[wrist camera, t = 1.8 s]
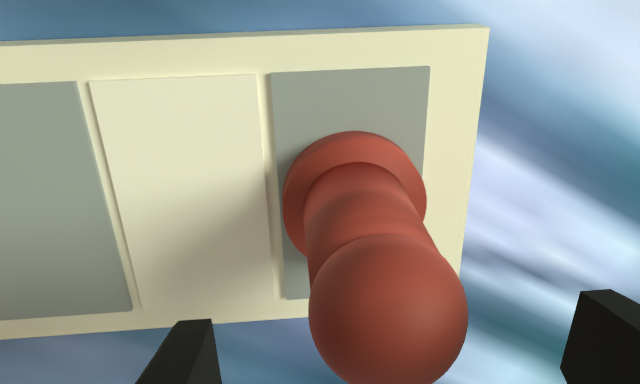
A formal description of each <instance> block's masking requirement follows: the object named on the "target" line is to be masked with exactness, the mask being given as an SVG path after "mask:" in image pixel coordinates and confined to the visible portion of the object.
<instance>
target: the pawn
mask: <svg viewBox="0 0 640 384" xmlns="http://www.w3.org/2000/svg"><path fill="white" fill-rule="evenodd" d="M282 204H283V220H284V225H285V228H286V232H287V234H288V236H289V238H290V240H291V241H292V243H293V244H294V246H295V247H296V248H297V249H298V250H299V251H300V252H301V253H302V254H303V255H304V256H306V257H307V262H308V272H309V282H310V297H309V304H308V318H309V326H310V331H311V334H312V338H313V340H314V343H315V346H316V348H317V349H318V351H319V353H320V355H321V356H322V358H323V360H324V361H325V362H326V364H327V365H328V366H329V367H330V368H331V369H332V370H333V371H334V372H335V373H336V374H337V375H338V376H339V377H340V378H342V379H343V380H344V381H346V382H347V383H349V384H432V383H433V382H435V381H436V380H438V379H439V378H440V377H441V376H443V375H444V374H445V373H446V372H447V371H448V369H449V368H450V367H451V365H452V364H453V363H454V361H455V360H456V359H457V357H458V355H459V353H460V351H461V348H462V346H463V343H464V341H465V337H466V332H467V327H468V307H467V300H466V296H465V292H464V289H463V286H462V284H461V282H460V280H459V278H458V275H457V274H456V272H455V271H454V269H453V268H452V266H451V265H450V264H449V262H448V261H447V260H446V259H445V258H444V257H443V256H442V255H441V254H440V253H439V251H438V249H437V247H436V245H435V243H434V242H433V240H432V238H431V236H430V234H429V233H428V231H427V229H426V227H425V225H424V224H423V221H424V218H425V214H426V208H427V196H426V189H425V186H424V182H423V180H422V178H421V176H420V174H419V172H418V171H417V169H416V168H415V166H414V165H413V163H412V162H411V160H410V159H409V157H408V156H407V154H406V153H405V152H404V151H403V150H402V149H401V148H400V147H399V146H398V145H396V144H395V143H394V142H392V141H391V140H389V139H387V138H385V137H383V136H381V135H378V134H374V133H371V132H365V131H345V132H339V133H335V134H331V135H329V136H326V137H323V138H321V139H319V140H318V141H316V142H314V143H313V144H311V145H310V146H308V147H307V148H306V149H305V150H304V151H303V152H301V153H300V155H299V156H298V157H297V158H296V159H295V160H294V162H293V164H292V165H291V167H290V168H289V171H288V173H287V175H286V178H285V181H284V185H283V192H282Z"/></svg>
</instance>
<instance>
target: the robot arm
mask: <svg viewBox="0 0 640 384" xmlns="http://www.w3.org/2000/svg"><path fill="white" fill-rule="evenodd" d="M560 369H561V371H562V373H563V375H564V378H565V380H566V382H567V384H640V304H638V303H637V302H635V301H633V300H631V299H629V298H627V297H625V296H623V295H621V294H619V293H617V292H615V291H613V290H611V289H606V290H592V291H580V295H579V299H578V303H577V306H576V310H575V314H574V317H573V321H572V325H571V329H570V332H569V336H568V340H567V343H566V347H565V351H564V355H563V358H562V362H561V366H560ZM135 384H222V381H221V375H220V369H219V363H218V357H217V350H216V344H215V338H214V332H213V326H212V320H211V318H209V319H195V320H182V321H178V322H177V323H176V324H175V325H174V326H173V327H172V329H171V331H170V332H169V334H168V335H167V337H166V338H165V340H164V341H163V343H162V344H161V346H160V347H159V349H158V351H157V352H156V354H155V355H154V357H153V358H152V359H151V361H150V362H149V364H148V365H147V367H146V368H145V370H144V371H143V373H142V374H141V376H140V377H139V378H138V380H137V381H136V383H135Z"/></svg>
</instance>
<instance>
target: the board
mask: <svg viewBox="0 0 640 384" xmlns="http://www.w3.org/2000/svg"><path fill="white" fill-rule="evenodd" d="M489 30H490V27H487V26H484V25H480V24H477V23H471V24H445V25H418V26H392V27H365V28H339V29H313V30H286V31H260V32H233V33H207V34H181V35H154V36H128V37H102V38H75V39H49V40H22V41H0V340H2V339H16V338H29V337H43V336H56V335H70V334H83V333H97V332H110V331H124V330H137V329H151V328H164V327H173V326H174V325H175V324H176V323H177V322H178V321H182V320H195V319H209V318H211V320H212V324H219V323H232V322H246V321H259V320H273V319H286V318H300V317H308V304H309V297H310V282H309V272H308V262H307V257H306V256H304V255H303V254H302V253H301V252H300V251H299V250H298V249H297V248H296V247H295V246H294V244H293V243H292V241H291V240H290V238H289V236H288V234H287V232H286V228H285V225H284V220H283V204H282V192H283V185H284V181H285V178H286V175H287V173H288V171H289V168H290V167H291V165H292V164H293V162H294V160H295V159H296V158H297V157H298V156H299V155H300V153H301V152H303V151H304V150H305V149H306V148H307V147H308V146H310V145H311V144H313V143H314V142H316V141H318V140H319V139H321V138H323V137H326V136H329V135H331V134H335V133H339V132H345V131H365V132H371V133H374V134H378V135H381V136H383V137H385V138H387V139H389V140H391V141H392V142H394V143H395V144H396V145H398V146H399V147H400V148H401V149H402V150H403V151H404V152H405V153H406V154H407V156H408V157H409V159H410V160H411V162H412V163H413V165H414V166H415V168H416V169H417V171H418V172H419V174H420V176H421V178H422V180H423V182H424V186H425V189H426V196H427V208H426V214H425V218H424V221H423V224H424V225H425V227H426V229H427V231H428V233H429V234H430V236H431V238H432V240H433V242H434V243H435V245H436V247H437V249H438V251H439V253H440V254H441V255H442V256H443V257H444V258H445V259H446V260H447V261H448V262H449V264H450V265H451V266H452V268H453V269H454V271H455V272H456V274H457V275H458V278H459V272H460V264H461V256H462V248H463V240H464V231H465V223H466V215H467V207H468V199H469V191H470V183H471V175H472V167H473V159H474V151H475V143H476V135H477V127H478V119H479V111H480V103H481V95H482V87H483V79H484V71H485V63H486V55H487V47H488V39H489Z"/></svg>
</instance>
